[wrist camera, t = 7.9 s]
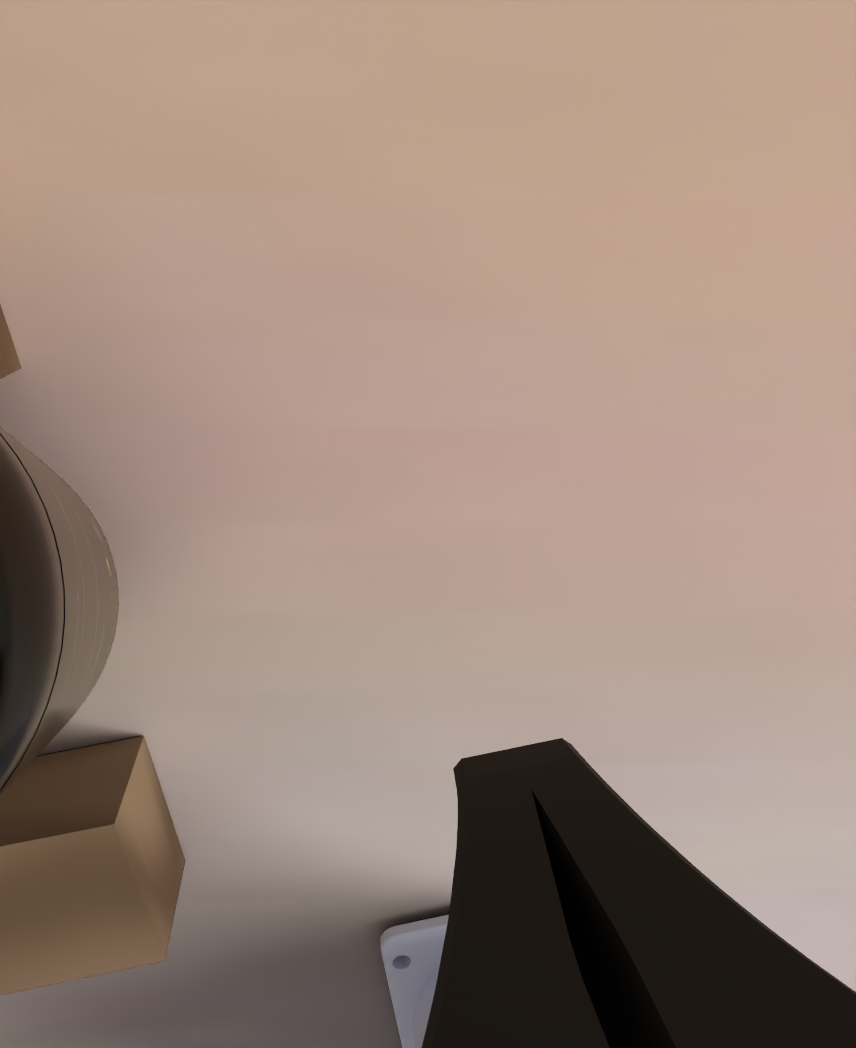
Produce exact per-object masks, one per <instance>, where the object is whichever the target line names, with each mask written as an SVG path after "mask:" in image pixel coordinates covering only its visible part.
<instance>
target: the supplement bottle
mask: <svg viewBox="0 0 856 1048" xmlns="http://www.w3.org/2000/svg"><path fill="white" fill-rule="evenodd" d="M118 606H119V601H118V583H117V575H116V570H115V565H114V561H113V557H112V554H111V551H110V548H109V545H108V543H107V540H106V538H105V536H104V534H103V532H102V529H101V527H100V525H99V524H98V522H97V521H96V519H95V517H94V516H93V514H92V512H91V511H90V510H89V508H88V507H87V506H86V504H85V503H84V502H83V500H82V499H81V498H80V497H79V496H78V495H77V493H76V492H75V491H74V490H73V489H72V488H71V487H70V486H69V485H68V484H67V483H66V482H65V481H64V480H63V479H62V478H61V477H60V476H59V475H58V474H56V473H55V472H54V471H53V470H52V469H51V468H50V467H48V466H47V465H46V464H45V463H44V462H43V461H41V460H40V459H39V458H38V457H37V456H35V455H34V454H33V453H32V452H31V451H29V450H28V449H27V448H26V447H25V446H23V445H22V444H21V443H20V442H19V441H17V440H16V439H15V438H14V437H13V436H11V435H10V434H9V433H8V432H7V431H5V430H4V429H3V428H2V427H1V426H0V795H1V794H2V792H3V791H4V790H5V789H6V788H7V787H8V786H9V785H10V784H11V783H12V782H13V781H14V780H15V779H16V777H17V776H18V775H19V774H20V773H21V772H22V771H23V770H24V769H25V768H26V767H27V766H28V765H29V763H30V762H31V761H32V760H33V759H34V758H35V757H36V756H37V755H38V754H39V753H40V752H41V751H42V750H43V748H44V747H45V746H46V745H47V744H48V743H49V742H50V741H51V740H52V739H53V738H54V737H55V736H56V735H57V733H58V732H59V731H60V730H61V729H62V728H63V727H64V726H65V725H66V724H67V723H68V721H69V720H70V719H71V718H72V717H73V715H74V714H75V713H76V712H77V710H78V709H79V708H80V706H81V705H82V704H83V702H84V701H85V700H86V698H87V697H88V695H89V694H90V692H91V691H92V689H93V688H94V686H95V684H96V682H97V680H98V679H99V677H100V675H101V673H102V671H103V669H104V666H105V664H106V661H107V659H108V656H109V654H110V650H111V647H112V644H113V640H114V636H115V631H116V626H117V618H118Z"/></svg>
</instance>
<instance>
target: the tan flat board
mask: <svg viewBox="0 0 856 1048" xmlns="http://www.w3.org/2000/svg"><path fill="white" fill-rule="evenodd" d="M20 368H21V366H20V363H19V360H18V357H17V354H16V351H15V348H14V345H13V342H12V339H11V336H10V333H9V330H8V327H7V324H6V321H5V318H4V315H3V312H2V309H1V306H0V379H1V378H3V377H5V376H7V375H9V374H11V373H12V372H14V371H16V370H18V369H20ZM184 865H185V858H184V855H183V852H182V849H181V846H180V843H179V840H178V837H177V834H176V831H175V828H174V825H173V822H172V819H171V816H170V813H169V810H168V807H167V804H166V801H165V798H164V795H163V792H162V789H161V786H160V783H159V780H158V777H157V774H156V771H155V768H154V765H153V762H152V759H151V756H150V753H149V750H148V747H147V744H146V741H145V738H144V736H141V737H136V738H131V739H125V740H120V741H115V742H110V743H104V744H99V745H94V746H89V747H83V748H78V749H73V750H68V751H62V752H57V753H52V754H47V755H41V756H36V757H35V758H34V759H33V760H32V761H31V762H30V763H29V765H28V766H27V767H26V768H25V769H24V770H23V771H22V772H21V773H20V774H19V775H18V776H17V777H16V779H15V780H14V781H13V782H12V783H11V784H10V785H9V786H8V787H7V788H6V789H5V790H4V791H3V792H2V794H1V795H0V995H4V994H9V993H14V992H18V991H23V990H28V989H33V988H38V987H42V986H47V985H52V984H57V983H61V982H66V981H71V980H76V979H80V978H85V977H90V976H95V975H99V974H104V973H109V972H114V971H119V970H123V969H128V968H133V967H138V966H142V965H147V964H152V963H157V962H161V961H165V957H166V952H167V947H168V943H169V938H170V933H171V928H172V923H173V918H174V913H175V909H176V904H177V899H178V894H179V889H180V884H181V879H182V875H183V870H184Z"/></svg>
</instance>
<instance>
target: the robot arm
mask: <svg viewBox="0 0 856 1048" xmlns="http://www.w3.org/2000/svg"><path fill="white" fill-rule="evenodd" d="M454 775H455V781H456V787H457V796H458V830H457V849H456V859H455V868H454V877H453V886H452V894H451V903H450V910H449V915H444V916H440V917H435V918H430V919H425V920H421V921H416V922H411V923H407V924H402V925H397V926H394V927H391V928H389V929H387V930H386V931H385V932H383V934H382V936H381V939H380V945H381V954H382V958H383V963H384V967H385V972H386V976H387V981H388V985H389V990H390V994H391V999H392V1003H393V1008H394V1012H395V1017H396V1021H397V1026H398V1030H399V1035H400V1039H401V1044H402V1048H856V992H855V991H853V990H852V989H850V988H849V987H848V986H846V985H845V984H843V983H842V982H841V981H839V980H838V979H836V978H835V977H834V976H832V975H831V974H829V973H828V972H827V971H825V970H824V969H822V968H821V967H820V966H818V965H817V964H815V963H814V962H813V961H811V960H810V959H809V958H807V957H806V956H805V955H803V954H802V953H801V952H799V951H798V950H797V949H795V948H794V947H793V946H791V945H790V944H789V943H787V942H786V941H785V940H784V939H782V938H781V937H780V936H778V935H777V934H776V933H775V932H773V931H772V930H771V929H769V928H768V927H767V926H766V925H764V924H763V923H762V922H760V921H759V920H758V919H757V918H756V917H754V916H753V915H752V914H751V913H749V912H748V911H747V910H746V909H745V908H743V907H742V906H741V905H740V904H738V903H737V902H736V901H735V900H733V899H732V898H731V897H730V896H729V895H727V894H726V893H725V892H724V891H722V890H721V889H720V888H719V887H718V886H717V885H715V884H714V883H713V882H712V881H711V880H710V879H708V878H707V877H706V876H705V875H704V874H703V873H701V872H700V871H699V870H698V869H697V868H696V867H695V866H693V865H692V864H691V863H690V862H689V861H688V860H687V859H686V858H685V857H684V856H682V855H681V854H680V853H679V852H678V851H677V850H676V849H675V848H674V847H673V846H671V845H670V844H669V843H668V842H667V841H666V840H665V839H664V838H663V837H662V836H660V835H659V834H658V833H657V832H656V831H655V830H654V829H653V828H652V827H651V826H650V825H649V824H647V823H646V822H645V821H644V820H643V819H642V818H641V817H640V816H639V815H638V814H637V813H636V812H635V811H634V810H633V809H632V808H631V807H630V806H629V805H628V804H627V803H626V802H625V801H624V800H623V799H622V798H621V797H620V796H619V795H618V794H617V793H616V792H615V791H614V790H613V789H612V788H611V787H610V786H609V785H608V784H607V783H606V782H605V781H604V780H603V779H602V778H601V777H600V776H599V775H598V773H597V772H596V771H595V770H594V769H593V768H592V767H591V766H590V765H589V764H588V763H587V762H586V760H585V759H584V758H583V757H582V756H581V755H580V754H579V753H578V752H577V750H576V749H575V748H574V747H573V746H572V745H571V744H570V743H568V742H567V741H565V740H564V739H562V738H560V739H555V740H550V741H546V742H541V743H536V744H531V745H526V746H521V747H516V748H512V749H507V750H502V751H497V752H492V753H487V754H483V755H478V756H473V757H468V758H463V759H461V760H460V761H459V763H458V764H457V765H456V766H455V767H454ZM400 955H405V956H402V957H398V956H400Z"/></svg>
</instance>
